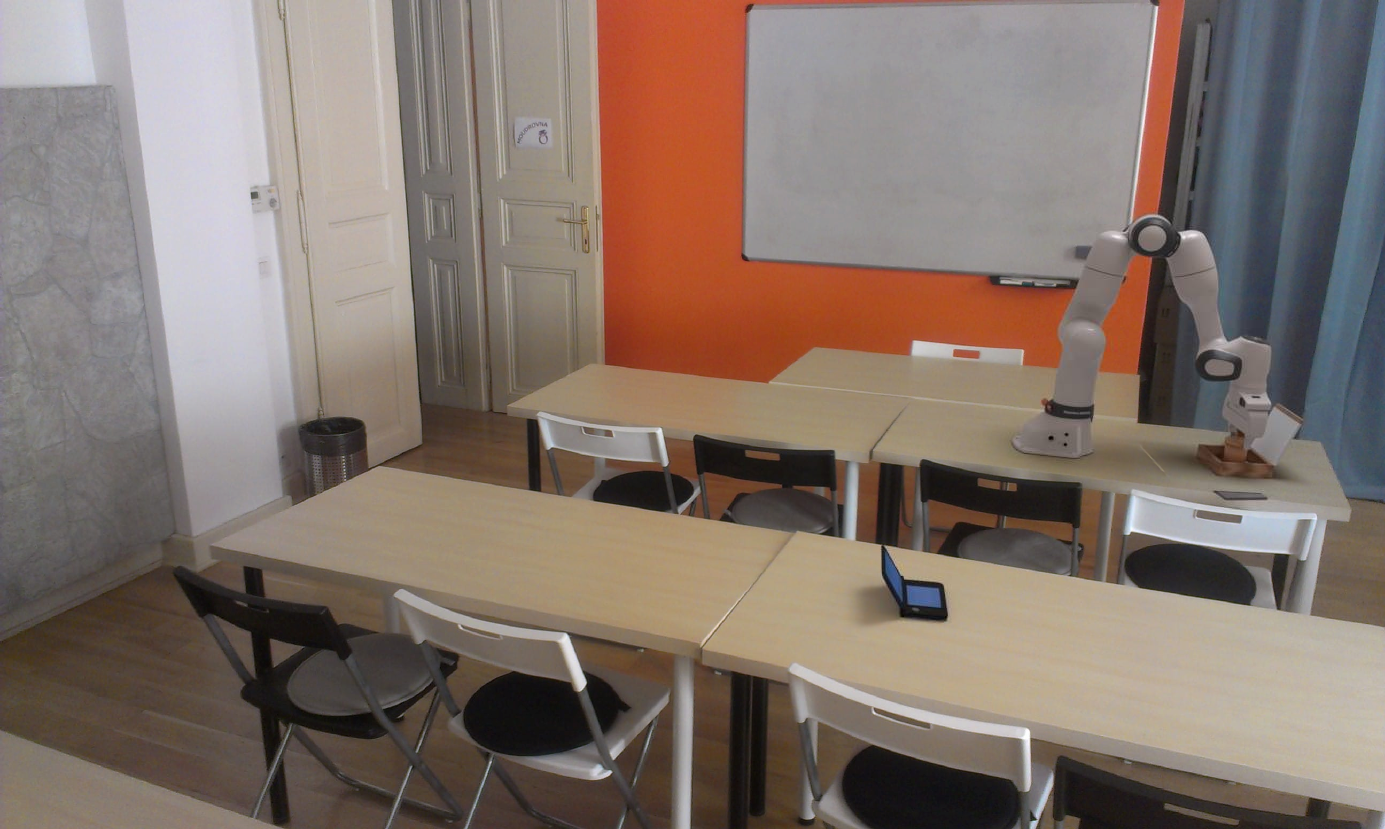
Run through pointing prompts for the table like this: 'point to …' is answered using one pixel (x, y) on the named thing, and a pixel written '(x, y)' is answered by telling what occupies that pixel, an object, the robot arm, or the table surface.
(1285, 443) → the lid
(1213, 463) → the tray
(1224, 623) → the table surface
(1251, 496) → the coaster
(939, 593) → the handheld game console
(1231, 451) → the tan cylinder
